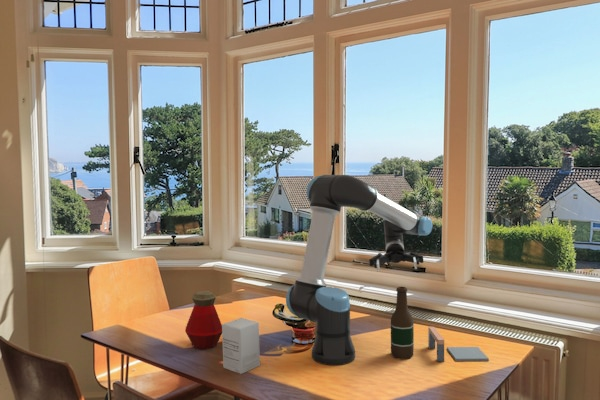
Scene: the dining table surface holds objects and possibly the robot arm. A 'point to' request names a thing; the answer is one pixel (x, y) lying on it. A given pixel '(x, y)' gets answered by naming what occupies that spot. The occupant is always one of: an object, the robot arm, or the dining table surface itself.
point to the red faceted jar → (204, 321)
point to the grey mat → (467, 354)
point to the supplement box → (240, 345)
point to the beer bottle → (402, 328)
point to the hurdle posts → (439, 347)
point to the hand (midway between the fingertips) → (396, 266)
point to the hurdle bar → (436, 335)
